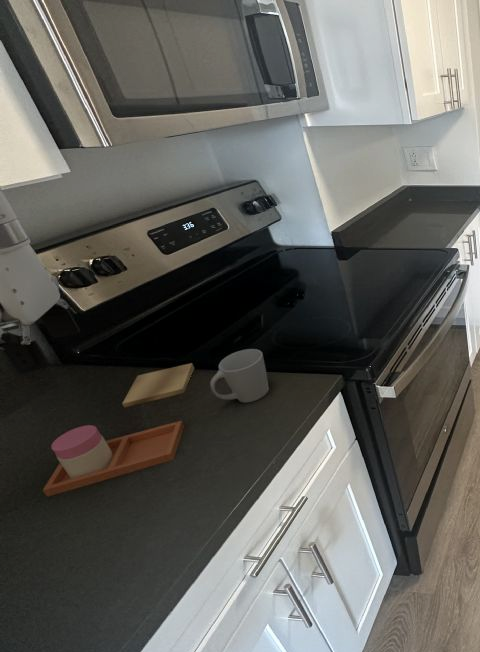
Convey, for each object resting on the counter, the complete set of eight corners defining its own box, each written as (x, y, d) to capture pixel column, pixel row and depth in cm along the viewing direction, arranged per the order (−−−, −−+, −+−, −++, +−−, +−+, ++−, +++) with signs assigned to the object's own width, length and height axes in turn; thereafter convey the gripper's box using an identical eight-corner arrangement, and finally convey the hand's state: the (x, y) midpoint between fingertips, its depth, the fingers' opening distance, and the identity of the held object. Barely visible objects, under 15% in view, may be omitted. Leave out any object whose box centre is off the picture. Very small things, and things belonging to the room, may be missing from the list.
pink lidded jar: (63, 485, 68) (42, 455, 65) (78, 460, 73) (59, 431, 70) (107, 472, 70) (89, 443, 67) (119, 448, 75) (102, 420, 72)
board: (125, 409, 85) (121, 403, 84) (140, 381, 93) (137, 375, 92) (185, 394, 88) (182, 388, 88) (194, 368, 96) (192, 362, 96)
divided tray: (48, 498, 66) (42, 490, 66) (72, 459, 73) (67, 451, 73) (174, 461, 72) (170, 453, 71) (185, 428, 79) (181, 420, 79)
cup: (281, 390, 88) (269, 356, 85) (230, 419, 81) (215, 383, 77) (262, 377, 92) (251, 344, 89) (212, 404, 85) (197, 369, 81)
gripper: (-16, 226, 60) (47, 330, 68) (-112, 268, 46) (-19, 393, 54) (53, 218, 63) (106, 318, 71) (-18, 255, 49) (58, 376, 56)
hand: (52, 350), depth 62 cm, fingers open, 9 cm apart
